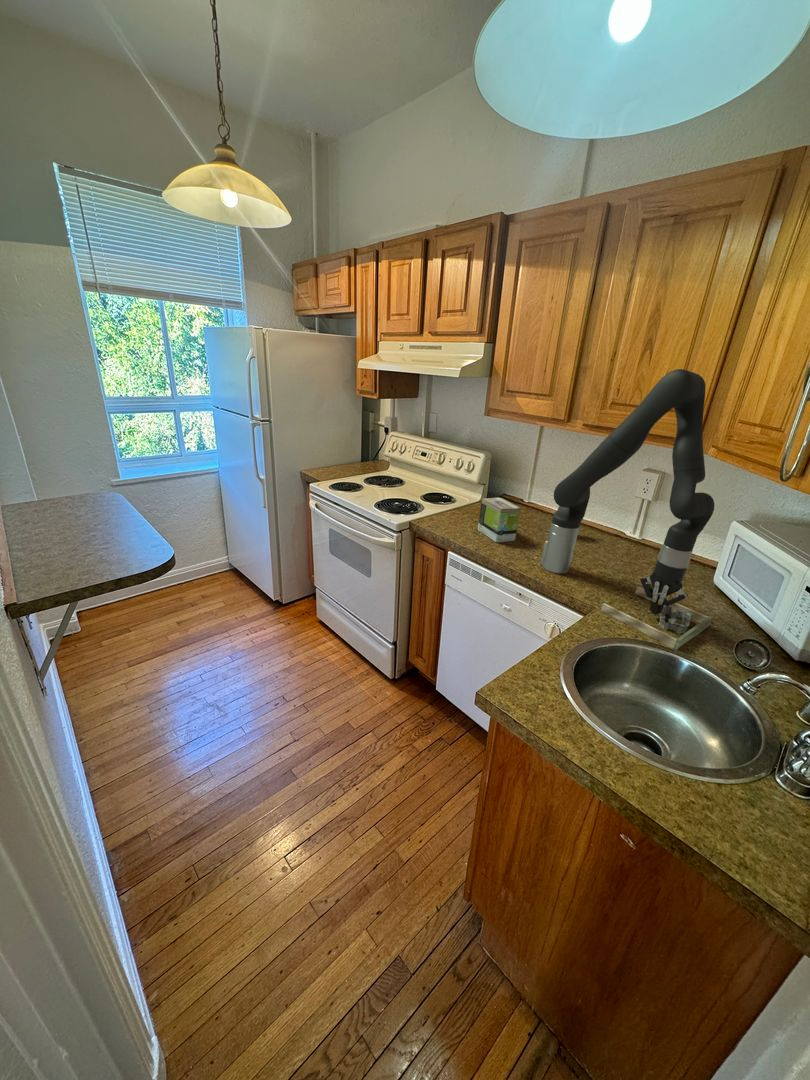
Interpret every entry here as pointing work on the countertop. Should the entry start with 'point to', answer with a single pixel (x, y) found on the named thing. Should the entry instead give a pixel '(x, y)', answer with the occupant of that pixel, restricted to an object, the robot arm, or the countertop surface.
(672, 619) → the egg carton
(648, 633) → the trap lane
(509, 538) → the tea box
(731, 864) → the countertop surface
